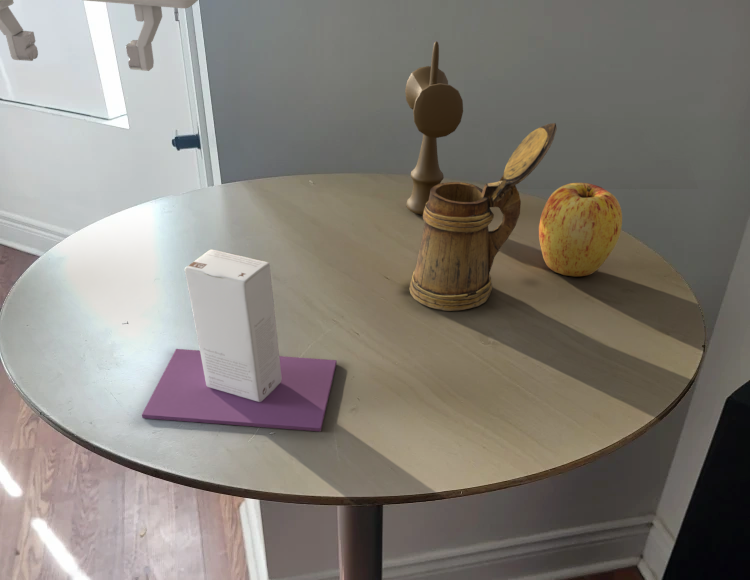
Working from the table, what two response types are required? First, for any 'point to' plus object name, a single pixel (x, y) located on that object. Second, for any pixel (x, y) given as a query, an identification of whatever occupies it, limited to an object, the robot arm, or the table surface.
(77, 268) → the table surface
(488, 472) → the table surface
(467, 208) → the wooden mug
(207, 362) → the cosmetic box
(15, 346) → the table surface
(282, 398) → the purple rectangular board
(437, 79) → the kendama
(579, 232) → the apple
